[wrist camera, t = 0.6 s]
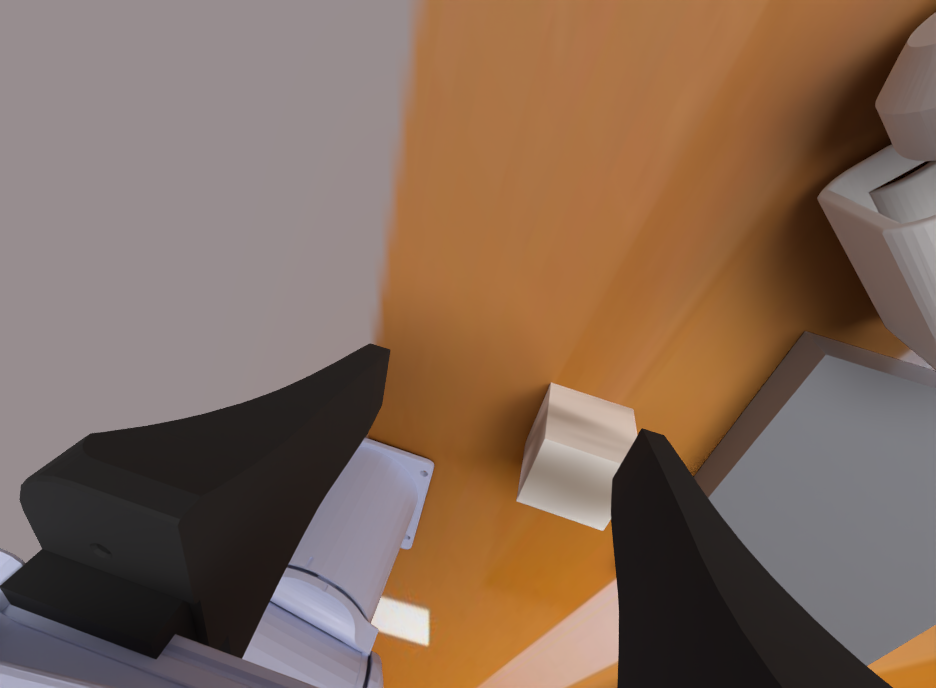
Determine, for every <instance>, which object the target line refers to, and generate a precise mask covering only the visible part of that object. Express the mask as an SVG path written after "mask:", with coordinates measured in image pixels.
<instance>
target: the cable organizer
mask: <svg viewBox="0 0 936 688" xmlns="http://www.w3.org/2000/svg"><path fill="white" fill-rule="evenodd" d="M875 107H876V109H877V111H878V114H879V116H880V118H881V120H882V122H883V125H884V127H885V129H886V131H887V133H888V136H889V138H890V140H891V142H892V144H891V145H889V146H887V147H886V148H884V149H882V150H881V151H879V152H877V153H875V154H874V155H872V156H870V157H868V158H867V159H865V160H863V161H861V162H860V163H858V164H856V165H855V166H853V167H851V168H850V169H848V170H846V171H845V172H843V173H842V174H840V175H839V176H838V177H836V178H835V179H834V180H832V181H831V182H830V183H829V184H828V185H827V186H826V187H825V188H824V189H823V190H822V191H821V193H820V194H819V196H818V198H817V200H818V202H819V203H820V205H821V207H822V209H823V211H824V213H825V215H826V217H827V219H828V220H829V222H830V224H831V226H832V228H833V230H834V232H835V234H836V235H837V237H838V239H839V241H840V243H841V245H842V247H843V249H844V250H845V252H846V254H847V256H848V258H849V260H850V262H851V264H852V265H853V267H854V269H855V271H856V273H857V275H858V277H859V279H860V280H861V282H862V284H863V286H864V288H865V290H866V292H867V294H868V295H869V297H870V299H871V301H872V303H873V305H874V307H875V309H876V310H877V312H878V314H879V316H880V318H881V320H882V322H883V324H884V325H885V327H886V328H887V329H888V330H889V331H890V332H892V333H893V334H894V335H895V336H896V337H897V338H899V339H900V340H901V341H902V342H903V343H905V344H906V345H907V346H908V347H909V348H910V349H912V350H913V351H914V352H915V353H916V354H918V355H919V356H920V357H921V358H922V359H923V360H925V361H926V362H927V363H928V364H929V365H931V366H932V367H933V368H934V369H935V370H936V12H935V13H934V14H932V15H931V16H930V17H929V18H927V19H926V20H925V21H924V22H923V23H922V24H921V25H920V26H919V27H918V28H917V29H916V30H915V31H914V32H913V33H912V34H911V36H910V37H909V39H908V41H907V42H906V44H905V46H904V48H903V49H902V51H901V53H900V55H899V57H898V59H897V61H896V62H895V64H894V66H893V68H892V70H891V72H890V74H889V76H888V78H887V80H886V82H885V84H884V86H883V88H882V90H881V92H880V93H879V95H878V98H877V100H876V103H875ZM926 161H931V162H930V163H928V164H926V165H925V166H923V167H922V168H920V169H918V170H917V171H915V172H913V173H912V174H910V175H908V176H906V177H904V178H902V179H900V180H898V181H896V182H894V183H891V184H889V185H887V186H884V187H881V188H879V189H876V188H878V187H880V186H881V185H883V184H885V183H887V182H889V181H891V180H893V179H894V178H896V177H898V176H900V175H902V174H904V173H905V172H907V171H909V170H911V169H913V168H915V167H916V166H918V165H920V164H922V163H924V162H926ZM874 189H876V190H874Z"/></svg>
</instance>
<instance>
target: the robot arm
mask: <svg viewBox="0 0 936 688" xmlns="http://www.w3.org/2000/svg"><path fill="white" fill-rule="evenodd" d="M389 355H390V349H386V348H383V347H380V346H377V345H374V344H368V345H366V346H364V347H362V348H360V349H359V350H357V351H355V352H353V353H351V354H350V355H348V356H346V357H344V358H343V359H341V360H339V361H337V362H335V363H334V364H331V365H329V366H328V367H326V368H324V369H322V370H320V371H318V372H316V373H314V374H312V375H310V376H308V377H306V378H304V379H302V380H299V381H297V382H295V383H293V384H291V385H288V386H286V387H284V388H282V389H280V390H277V391H274V392H272V393H269V394H266V395H264V396H261V397H258V398H255V399H253V400H250V401H247V402H244V403H241V404H237V405H234V406H230V407H226V408H223V409H219V410H216V411H212V412H209V413H206V414H202V415H197V416H193V417H188V418H184V419H179V420H174V421H169V422H164V423H160V424H154V425H148V426H142V427H135V428H128V429H122V430H115V431H108V432H101V433H92V434H89V435H88V436H86V437H85V438H83V439H82V440H80V441H79V442H78V443H76V444H75V445H73V446H72V447H71V448H69V449H68V450H66V451H65V452H64V453H62V454H61V455H60V456H58V457H57V458H55V459H54V460H52V461H51V462H50V463H48V464H47V465H46V466H44V467H43V468H41V469H40V470H38V471H37V472H36V473H34V474H33V475H31V476H30V477H28V478H27V479H26V480H25V481H24V483H23V484H22V485H21V491H20V502H21V505H22V508H23V511H24V513H25V515H26V517H27V519H28V521H29V523H30V525H31V527H32V529H33V531H34V533H35V535H36V537H37V539H38V541H39V543H40V545H41V547H42V550H41V551H40V552H38V553H37V554H36V555H35V556H34V557H33V558H32V559H30V560H29V561H28V562H27V563H26V564H25V562H24V561H23V560H21V559H20V558H19V557H17V556H16V555H14V554H12V553H10V552H8V551H6V550H3V549H1V548H0V688H383V674H382V663H381V659H380V656H379V655H378V654H377V653H375V652H373V651H371V650H372V647H373V644H374V641H375V639H376V636H377V633H378V631H379V630H378V628H376V627H375V626H373V625H372V624H370V623H371V621H372V618H373V616H374V613H375V611H376V608H377V605H378V603H379V600H380V598H381V595H382V593H383V590H384V588H385V585H386V582H387V580H388V577H389V575H390V572H391V570H392V567H393V564H394V562H395V559H396V557H397V554H398V552H399V549H400V548H403V549H410V548H411V547H412V544H413V541H414V537H415V534H416V530H417V527H418V523H419V519H420V516H421V512H422V509H423V505H424V502H425V498H426V495H427V491H428V487H429V484H430V480H431V477H432V473H433V470H434V463H433V462H432V461H431V460H429V459H426V458H423V457H420V456H418V455H415V454H412V453H409V452H406V451H403V450H400V449H397V448H394V447H391V446H388V445H385V444H382V443H380V442H377V441H374V440H371V439H368V438H365V437H366V435H367V434H368V432H369V430H370V428H371V426H372V424H373V422H374V420H375V418H376V416H377V414H378V412H379V410H380V408H381V406H382V402H383V395H384V389H385V382H386V375H387V369H388V362H389ZM424 471H426V472H424ZM611 523H612V535H613V546H614V556H615V566H616V577H617V587H618V601H619V659H618V688H893V687H891V686H890V685H889V684H888V683H886V682H885V681H884V680H883V679H881V678H880V677H879V676H878V675H876V674H875V673H874V672H873V671H872V670H871V669H869V668H868V667H867V666H866V665H865V664H864V663H862V662H861V661H860V660H859V659H858V658H857V657H856V656H855V655H853V654H852V653H851V652H850V651H849V650H848V649H847V648H845V647H844V646H843V645H842V644H841V643H840V642H839V641H838V640H836V639H835V638H834V637H833V636H832V635H831V634H830V633H829V632H828V631H827V630H826V629H825V628H823V627H822V626H821V625H820V624H819V623H818V622H817V621H816V620H815V619H814V618H813V617H812V616H811V615H810V614H809V613H808V612H807V611H806V610H805V609H804V608H803V607H802V606H801V605H800V604H799V603H798V602H797V601H796V600H795V599H794V598H793V597H792V596H791V595H790V594H789V593H788V592H787V591H786V590H785V589H784V588H783V587H782V586H781V585H780V584H779V583H778V582H777V581H776V580H775V579H774V578H773V577H772V576H771V575H770V573H769V572H768V571H767V570H766V569H765V568H764V567H763V566H762V565H761V563H760V562H759V561H758V560H757V559H756V558H755V557H754V556H753V554H752V553H751V552H750V551H749V550H748V549H747V548H746V546H745V545H744V544H743V543H742V542H741V540H740V539H739V538H738V537H737V535H736V534H735V533H734V532H733V530H732V529H731V528H730V527H729V525H728V524H727V523H726V521H725V520H724V519H723V518H722V516H721V515H720V514H719V512H718V511H717V510H716V508H715V507H714V506H713V504H712V503H711V502H710V500H709V499H708V497H707V496H706V495H705V493H704V492H703V490H702V489H701V488H700V486H699V485H698V483H697V482H696V480H695V479H694V477H693V476H692V475H691V473H690V472H689V470H688V469H687V467H686V466H685V464H684V463H683V461H682V460H681V458H680V457H679V456H678V454H677V453H676V451H675V450H674V448H673V447H672V445H671V444H670V443H669V441H668V440H667V439H666V437H665V436H664V435H661V434H658V433H655V432H652V431H649V430H645V429H641V431H640V432H639V434H638V436H637V437H636V439H635V441H634V443H633V444H632V446H631V448H630V449H629V451H628V453H627V455H626V456H625V458H624V460H623V461H622V463H621V465H620V467H619V468H618V470H617V472H616V473H615V475H614V477H613V479H612V493H611Z"/></svg>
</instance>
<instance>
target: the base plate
mask: <svg viewBox="0 0 936 688" xmlns="http://www.w3.org/2000/svg"><path fill="white" fill-rule="evenodd" d="M694 479H695V480H696V482H697V483H698V485H699V486H700V488H701V489H702V490H703V492H704V493H705V495H706V496H707V497H708V499H709V500H710V502H711V503H712V504H713V506H714V507H715V508H716V510H717V511H718V512H719V514H720V515H721V516H722V518H723V519H724V520H725V521H726V523H727V524H728V525H729V527H730V528H731V529H732V530H733V532H734V533H735V534H736V535H737V537H738V538H739V539H740V540H741V542H742V543H743V544H744V545H745V546H746V548H747V549H748V550H749V551H750V552H751V553H752V554H753V556H754V557H755V558H756V559H757V560H758V561H759V562H760V563H761V565H762V566H763V567H764V568H765V569H766V570H767V571H768V572H769V573H770V575H771V576H772V577H773V578H774V579H775V580H776V581H777V582H778V583H779V584H780V585H781V586H782V587H783V588H784V589H785V590H786V591H787V592H788V593H789V594H790V595H791V596H792V597H793V598H794V599H795V600H796V601H797V602H798V603H799V604H800V605H801V606H802V607H803V608H804V609H805V610H806V611H807V612H808V613H809V614H810V615H811V616H812V617H813V618H814V619H815V620H816V621H817V622H818V623H819V624H820V625H821V626H822V627H823V628H825V629H826V630H827V631H828V632H829V633H830V634H831V635H832V636H833V637H834V638H835V639H836V640H838V641H839V642H840V643H841V644H842V645H843V646H844V647H845V648H847V649H848V650H849V651H850V652H851V653H852V654H853V655H855V656H856V657H857V658H858V659H859V660H860V661H861V662H862V663H864V664H865V665H866V666H868V665H869V664H871V663H873V662H874V661H876V660H878V659H879V658H881V657H883V656H884V655H886V654H888V653H889V652H891V651H893V650H894V649H896V648H898V647H899V646H901V645H903V644H904V643H906V642H908V641H909V640H911V639H913V638H914V637H916V636H917V635H919V634H921V633H922V632H924V631H926V630H927V629H929V628H931V627H932V626H934V625H936V371H934V370H931V369H927V368H924V367H921V366H918V365H914V364H911V363H908V362H905V361H901V360H898V359H895V358H892V357H888V356H885V355H882V354H879V353H875V352H872V351H869V350H865V349H862V348H859V347H856V346H852V345H849V344H846V343H843V342H839V341H836V340H833V339H830V338H826V337H823V336H820V335H816V334H813V333H810V332H807V331H805V332H804V333H803V334H802V336H801V337H800V338H799V340H798V341H797V342H796V343H795V345H794V346H793V347H792V349H791V350H790V351H789V353H788V354H787V355H786V357H785V358H784V359H783V360H782V362H781V363H780V364H779V366H778V367H777V368H776V370H775V371H774V372H773V374H772V375H771V376H770V378H769V379H768V380H767V381H766V383H765V384H764V385H763V387H762V388H761V389H760V391H759V392H758V393H757V395H756V396H755V397H754V398H753V400H752V401H751V402H750V404H749V405H748V406H747V408H746V409H745V410H744V412H743V413H742V414H741V416H740V417H739V418H738V419H737V421H736V422H735V423H734V425H733V426H732V427H731V429H730V430H729V431H728V433H727V434H726V435H725V437H724V438H723V439H722V440H721V442H720V443H719V444H718V446H717V447H716V448H715V450H714V451H713V452H712V454H711V455H710V456H709V457H708V459H707V460H706V461H705V463H704V464H703V465H702V467H701V468H700V469H699V471H698V472H697V473H696V475H695V476H694Z"/></svg>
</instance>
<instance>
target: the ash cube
mask: <svg viewBox="0 0 936 688" xmlns="http://www.w3.org/2000/svg"><path fill="white" fill-rule="evenodd" d="M636 437H637V430H636V424H635V417H634V410H633V409H631V408H628V407H625V406H622V405H619V404H615V403H612V402H609V401H606V400H603V399H600V398H597V397H594V396H591V395H588V394H585V393H582V392H579V391H576V390H572V389H569V388H566V387H563V386H560V385H557V384H554V383H551V384H550V386H549V388H548V391H547V393H546V395H545V398H544V400H543V402H542V405H541V407H540V409H539V412H538V414H537V417H536V419H535V421H534V424H533V426H532V428H531V431H530V433H529V435H528V438H527V440H526V444H525V450H524V456H523V463H522V469H521V475H520V481H519V488H518V494H517V500H516V501H518V502H521V503H523V504H526V505H529V506H532V507H535V508H538V509H541V510H544V511H547V512H550V513H552V514H555V515H558V516H561V517H564V518H567V519H570V520H573V521H576V522H579V523H581V524H584V525H587V526H590V527H593V528H596V529H599V530H602V531H603V530H604V529H605V527H606V526H607V524H608V523H609V521H610V520H611V493H612V479H613V477H614V475H615V473H616V472H617V470H618V468H619V467H620V465H621V463H622V461H623V460H624V458H625V456H626V455H627V453H628V451H629V449H630V448H631V446H632V444H633V443H634V441H635V439H636Z"/></svg>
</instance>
